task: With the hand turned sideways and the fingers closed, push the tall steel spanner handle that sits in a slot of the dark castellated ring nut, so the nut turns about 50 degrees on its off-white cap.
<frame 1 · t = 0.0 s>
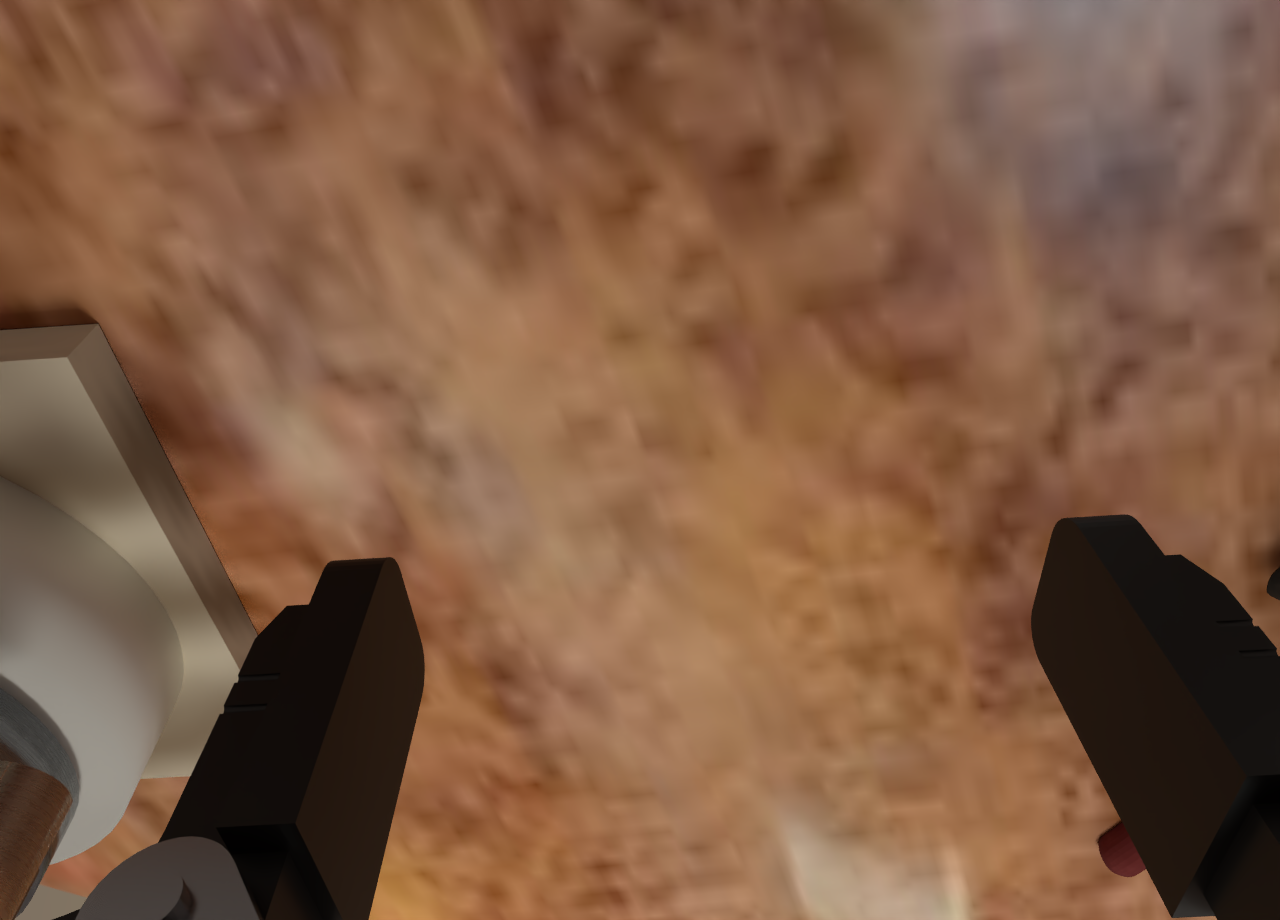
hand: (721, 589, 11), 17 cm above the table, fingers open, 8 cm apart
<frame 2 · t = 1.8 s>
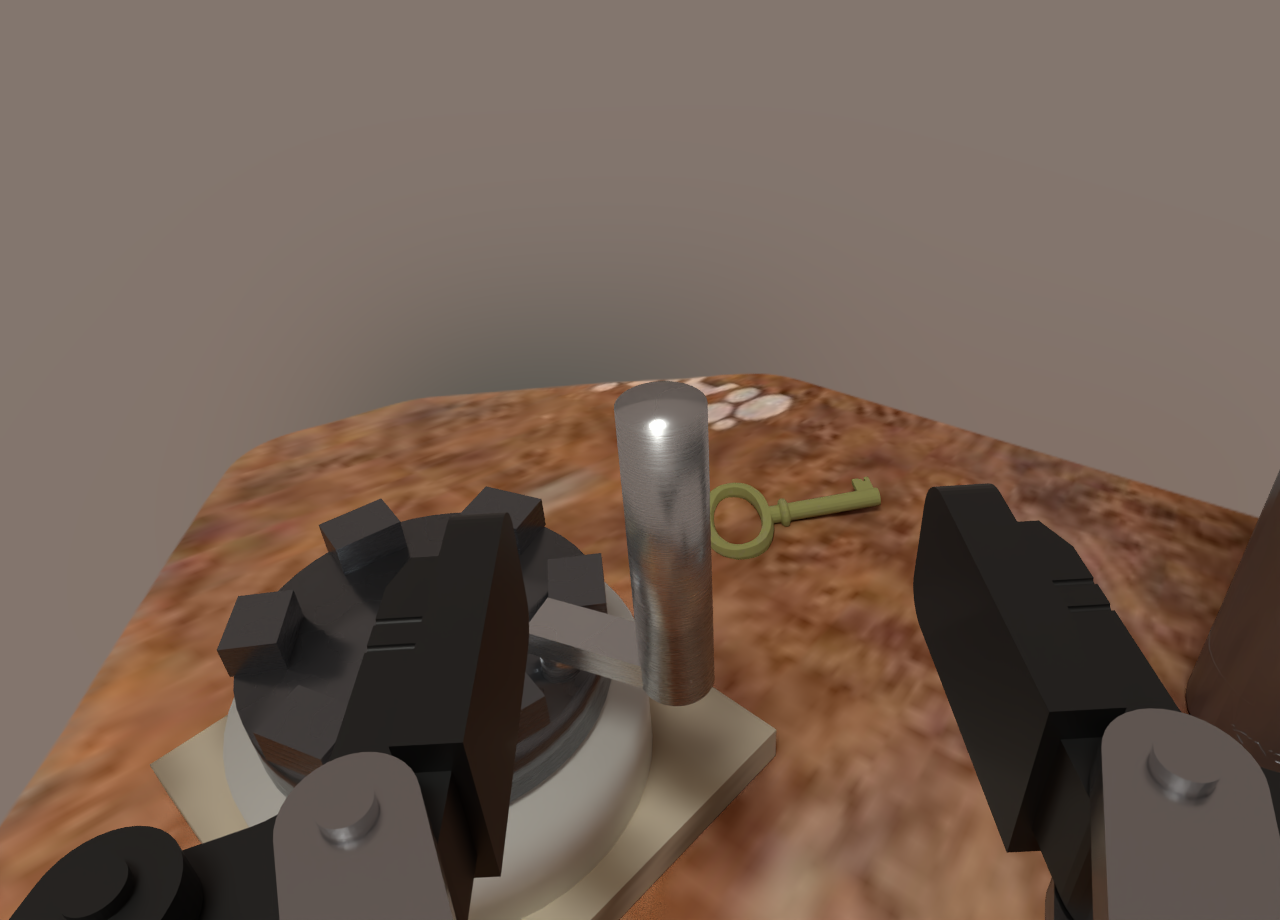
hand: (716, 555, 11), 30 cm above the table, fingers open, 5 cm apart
ring nut: (430, 556, 34), point 16 cm above the table, hinge at 0.0°
base board: (467, 772, 44), on the table
cap housing: (467, 772, 44), resting on base board
key: (782, 525, 60), on the table
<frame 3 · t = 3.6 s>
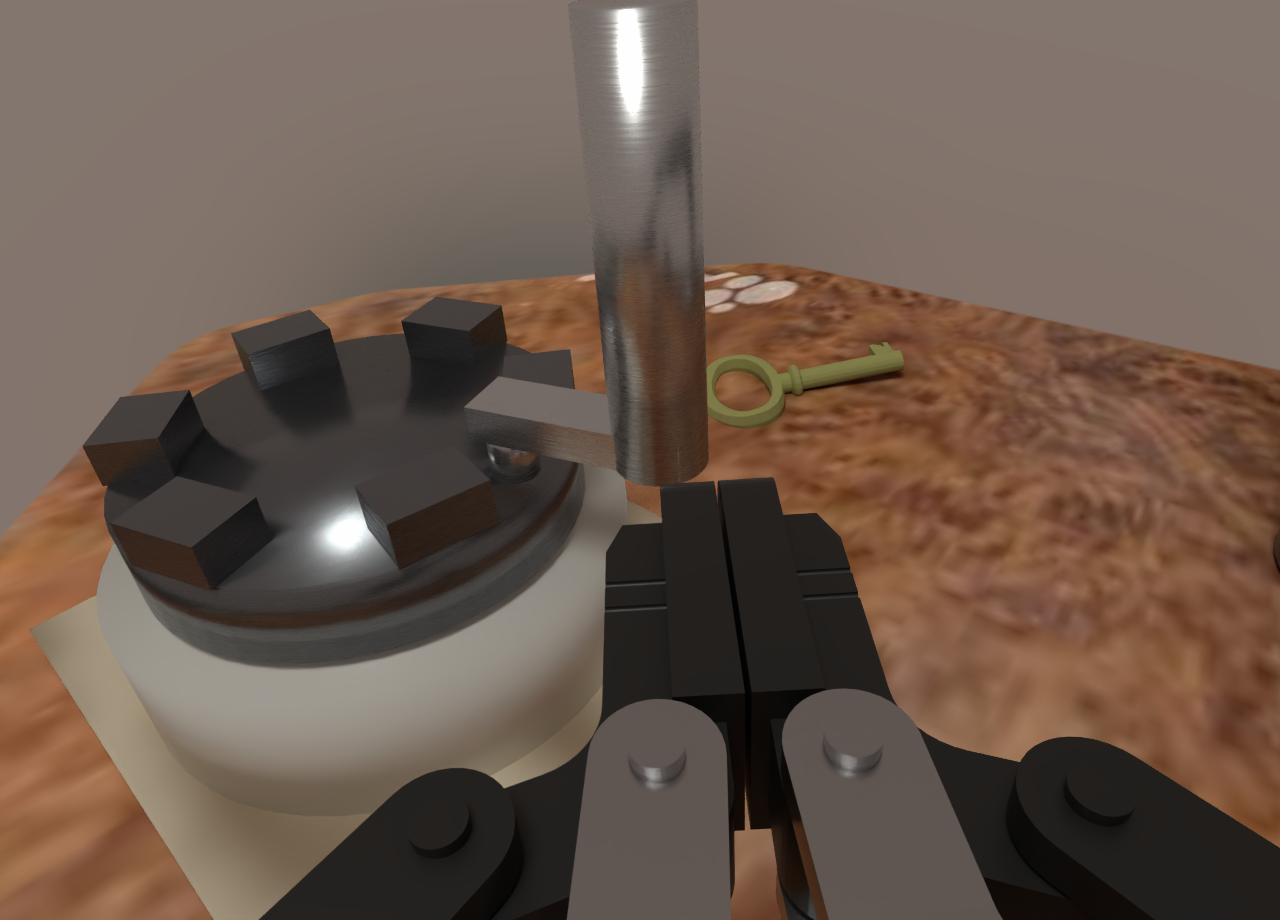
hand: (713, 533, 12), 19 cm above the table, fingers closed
ring nut: (346, 313, 27), point 16 cm above the table, hinge at 0.0°
base board: (413, 641, 37), on the table
cap housing: (413, 641, 37), resting on base board
key: (793, 397, 53), on the table
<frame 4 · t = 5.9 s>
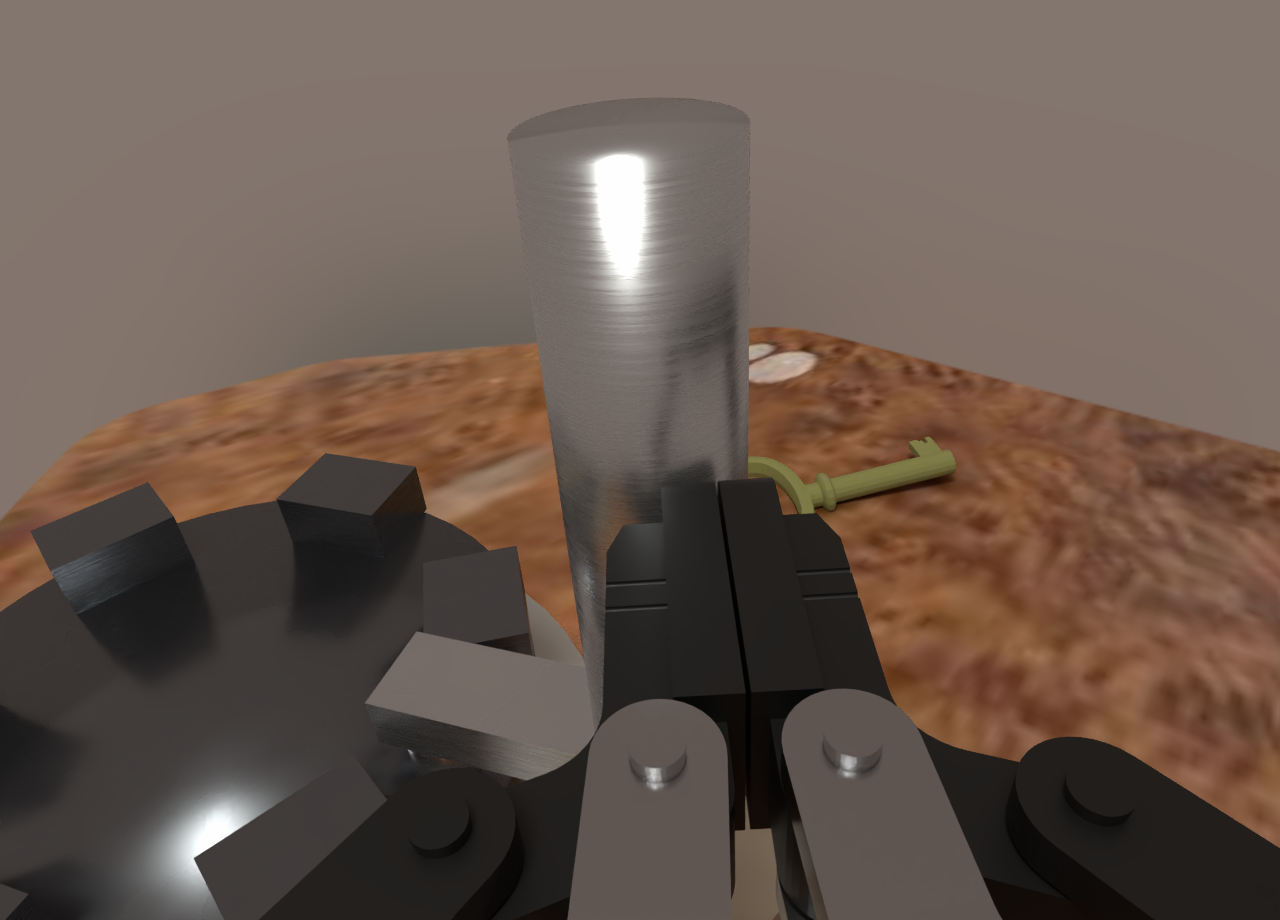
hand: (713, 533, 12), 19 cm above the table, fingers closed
ring nut: (170, 568, 17), point 16 cm above the table, hinge at 5.5°, touching gripper
base board: (321, 919, 27), on the table
cap housing: (321, 919, 27), resting on base board
key: (822, 510, 43), on the table
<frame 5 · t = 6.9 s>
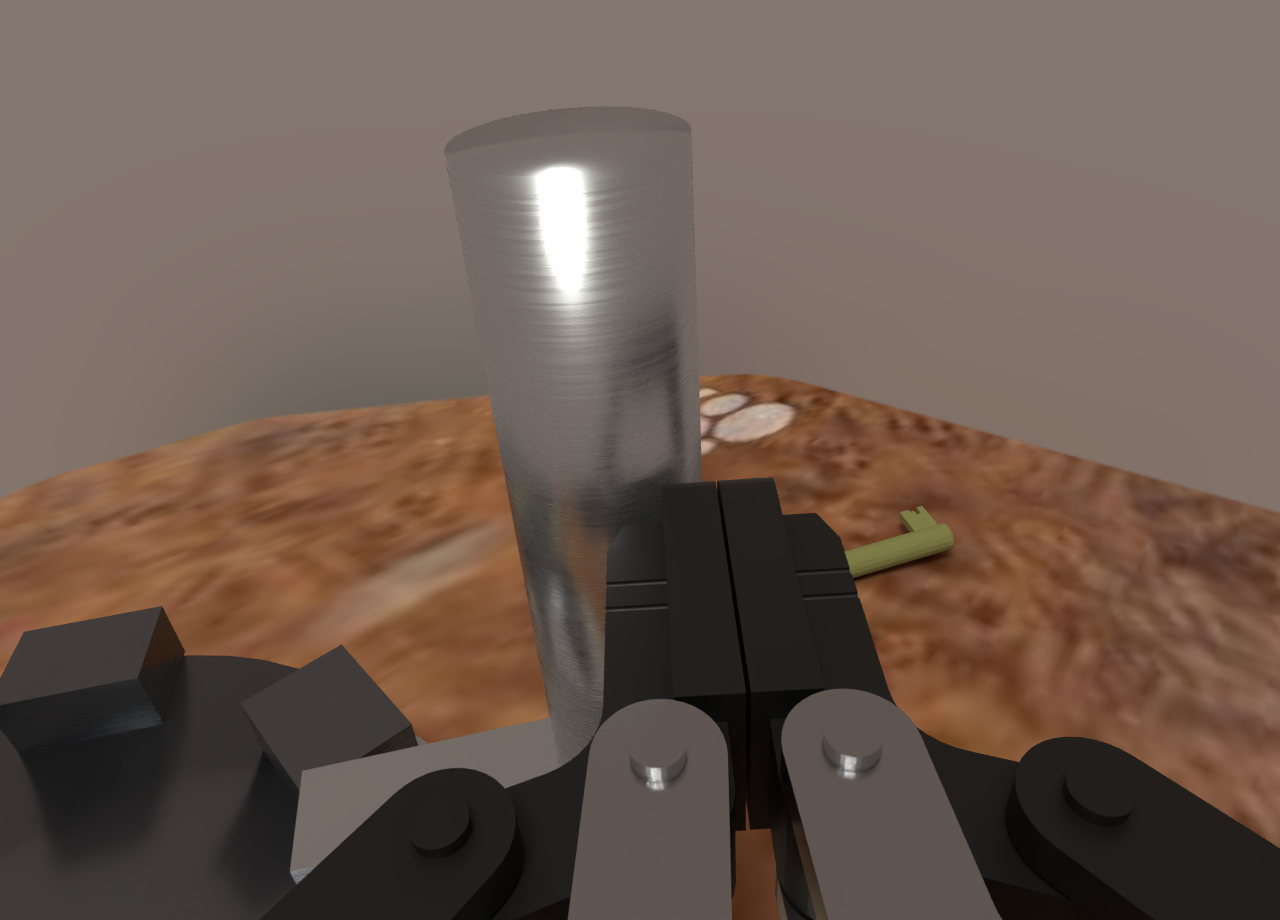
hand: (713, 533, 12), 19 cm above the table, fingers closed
key: (808, 594, 39), on the table
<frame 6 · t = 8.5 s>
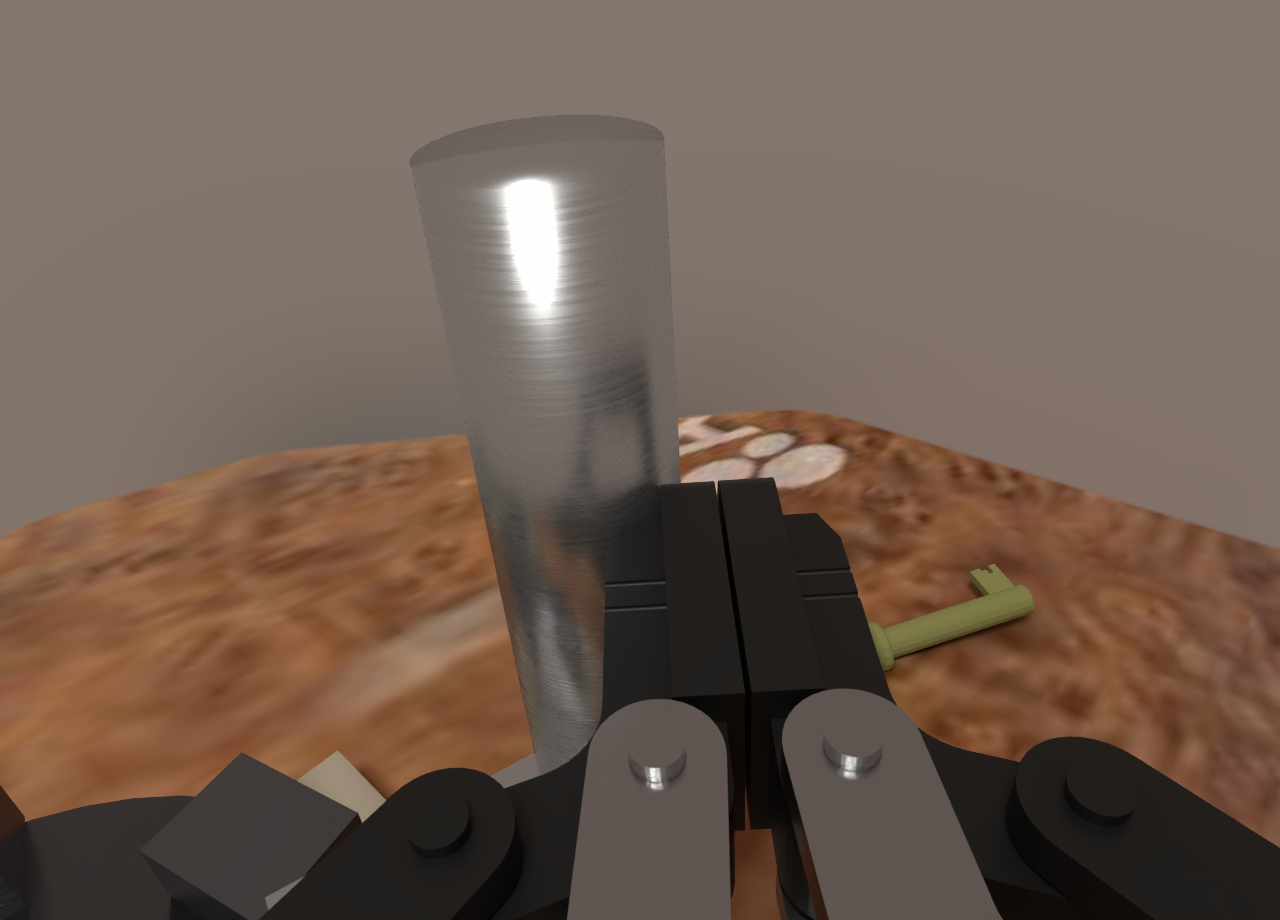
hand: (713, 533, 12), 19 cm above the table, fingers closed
key: (873, 666, 35), on the table
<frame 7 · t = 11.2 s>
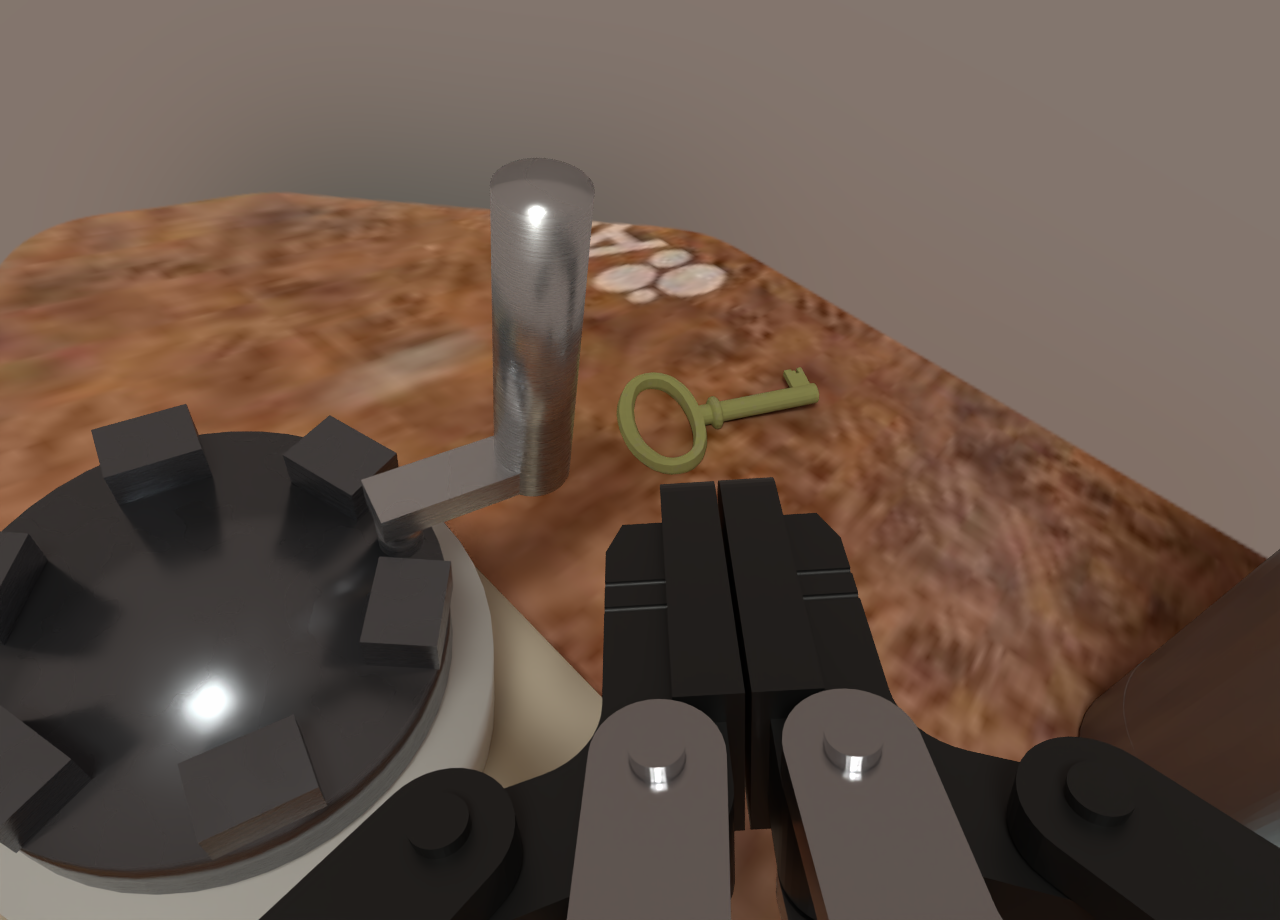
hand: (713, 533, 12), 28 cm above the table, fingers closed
ring nut: (239, 514, 26), point 16 cm above the table, hinge at 55.1°
base board: (268, 734, 37), on the table
cap housing: (268, 734, 37), resting on base board
key: (710, 425, 53), on the table
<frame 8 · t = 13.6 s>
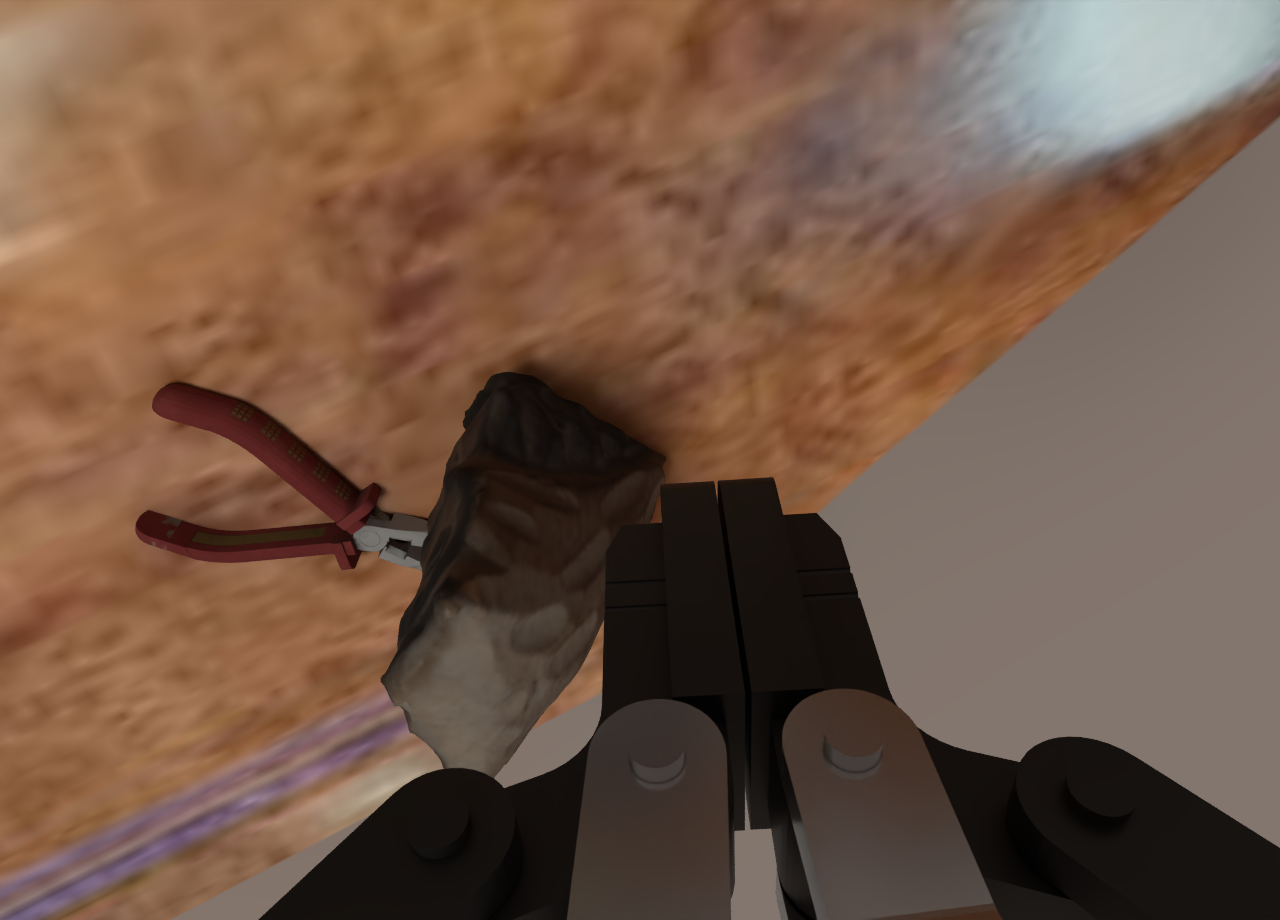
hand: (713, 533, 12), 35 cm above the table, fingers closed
pliers: (305, 512, 56), on the table
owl: (558, 465, 54), on the table
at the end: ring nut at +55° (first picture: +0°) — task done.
